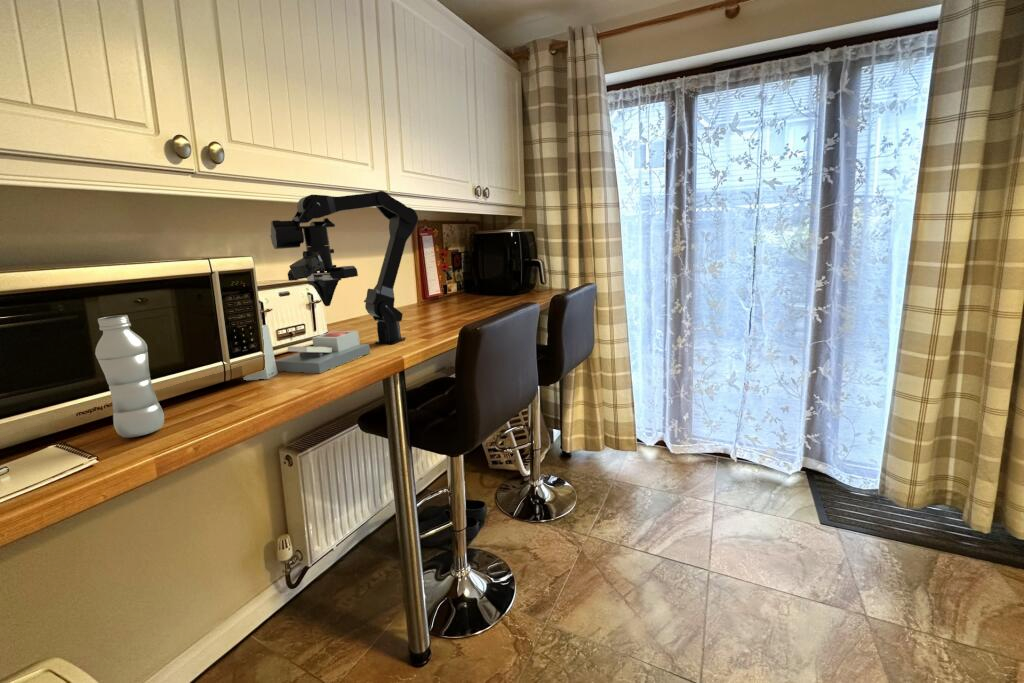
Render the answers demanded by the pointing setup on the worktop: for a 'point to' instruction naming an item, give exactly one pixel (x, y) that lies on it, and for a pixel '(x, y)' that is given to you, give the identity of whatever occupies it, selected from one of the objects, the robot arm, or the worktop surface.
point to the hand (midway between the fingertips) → (327, 306)
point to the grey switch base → (325, 354)
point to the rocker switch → (309, 349)
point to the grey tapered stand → (266, 359)
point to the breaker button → (335, 334)
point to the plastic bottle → (128, 378)
